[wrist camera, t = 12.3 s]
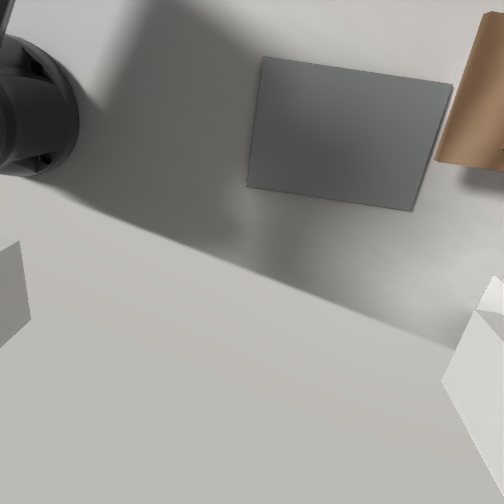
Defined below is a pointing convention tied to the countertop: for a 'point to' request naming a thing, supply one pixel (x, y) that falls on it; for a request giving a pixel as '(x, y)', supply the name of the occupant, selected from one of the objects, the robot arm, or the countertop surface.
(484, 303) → the milk
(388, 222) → the countertop surface
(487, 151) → the board
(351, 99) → the mat
